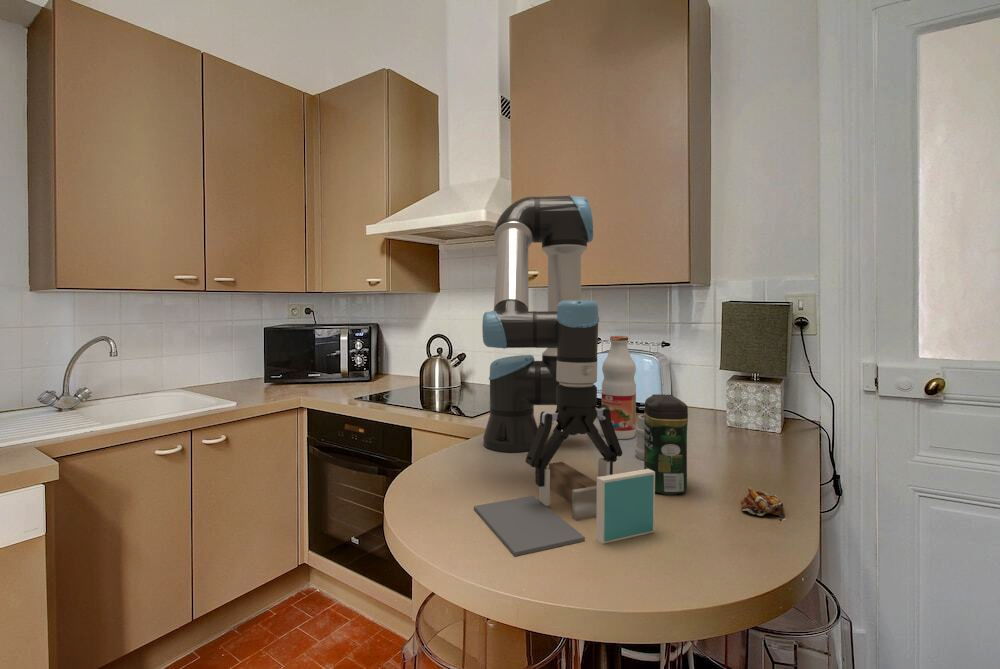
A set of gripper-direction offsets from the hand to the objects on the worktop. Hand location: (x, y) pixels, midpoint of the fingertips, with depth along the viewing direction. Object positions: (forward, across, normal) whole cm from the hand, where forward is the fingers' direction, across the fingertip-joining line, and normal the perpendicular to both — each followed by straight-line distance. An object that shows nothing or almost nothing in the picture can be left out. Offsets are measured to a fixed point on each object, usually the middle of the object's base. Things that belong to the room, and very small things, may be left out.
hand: (574, 498), depth 91 cm
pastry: (+1, +30, -15) cm, 34 cm away
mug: (0, +30, +14) cm, 33 cm away
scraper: (+1, 0, +1) cm, 1 cm away
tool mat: (+1, -12, -5) cm, 13 cm away
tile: (+1, 0, -15) cm, 15 cm away
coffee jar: (+1, +20, -1) cm, 21 cm away
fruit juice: (0, +36, +35) cm, 50 cm away
